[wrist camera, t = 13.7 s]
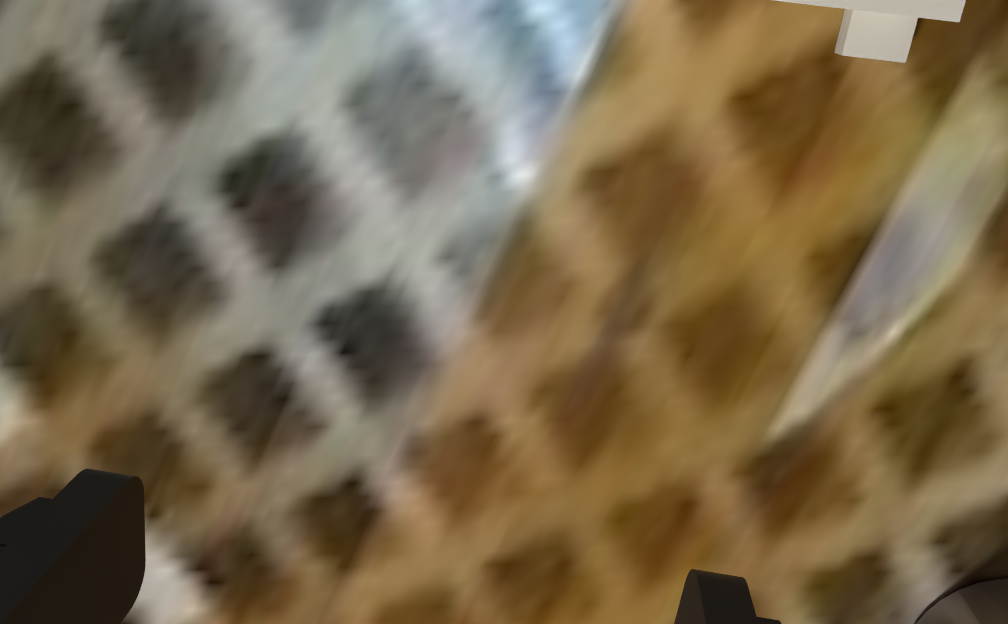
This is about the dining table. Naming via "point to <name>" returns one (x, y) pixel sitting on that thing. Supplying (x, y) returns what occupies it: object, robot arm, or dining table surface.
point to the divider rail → (884, 24)
